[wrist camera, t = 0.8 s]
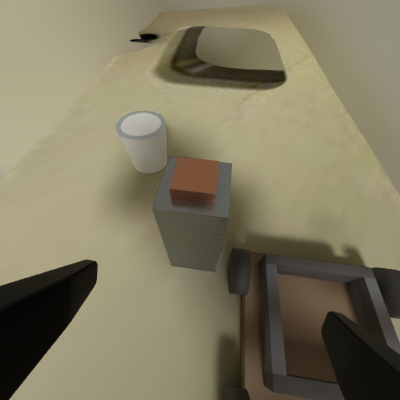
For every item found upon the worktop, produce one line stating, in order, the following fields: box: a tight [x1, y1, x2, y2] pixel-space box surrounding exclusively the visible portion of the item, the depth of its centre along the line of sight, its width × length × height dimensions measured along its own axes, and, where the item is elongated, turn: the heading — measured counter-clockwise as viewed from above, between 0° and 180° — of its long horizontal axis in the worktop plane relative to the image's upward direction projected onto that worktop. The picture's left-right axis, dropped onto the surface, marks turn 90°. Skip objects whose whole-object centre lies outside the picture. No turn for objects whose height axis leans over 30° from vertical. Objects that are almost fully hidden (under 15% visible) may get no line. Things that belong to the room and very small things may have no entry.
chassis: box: [223, 248, 400, 400], centre depth 16 cm, size 16×16×4 cm
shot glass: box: [116, 111, 168, 174], centre depth 30 cm, size 7×7×7 cm
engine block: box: [152, 157, 232, 272], centre depth 19 cm, size 5×5×13 cm
